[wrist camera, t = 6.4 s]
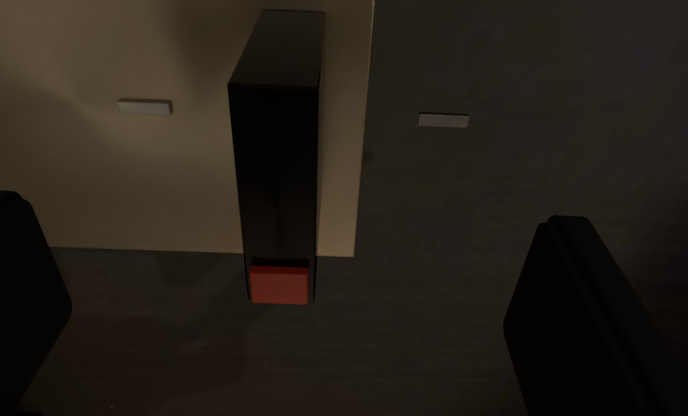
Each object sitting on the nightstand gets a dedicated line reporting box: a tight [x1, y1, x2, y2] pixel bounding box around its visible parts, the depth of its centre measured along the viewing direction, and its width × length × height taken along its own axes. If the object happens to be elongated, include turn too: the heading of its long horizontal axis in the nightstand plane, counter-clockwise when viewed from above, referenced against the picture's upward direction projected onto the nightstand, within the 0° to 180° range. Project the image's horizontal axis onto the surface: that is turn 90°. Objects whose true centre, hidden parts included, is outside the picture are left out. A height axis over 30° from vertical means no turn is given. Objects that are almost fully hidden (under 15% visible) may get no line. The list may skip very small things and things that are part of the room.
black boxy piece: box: [227, 10, 327, 305], centre depth 12 cm, size 6×2×5 cm, turn 177°
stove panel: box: [0, 0, 469, 257], centre depth 15 cm, size 19×11×3 cm, turn 87°
